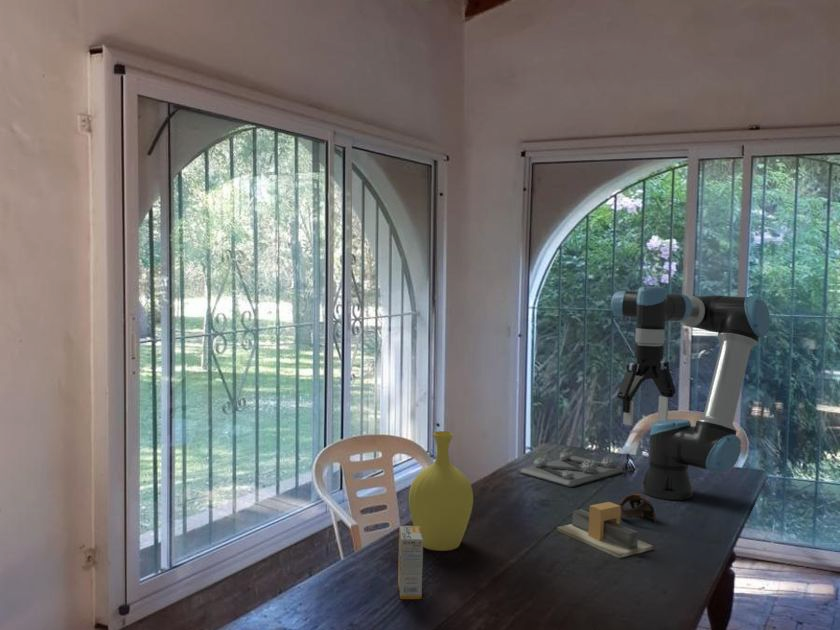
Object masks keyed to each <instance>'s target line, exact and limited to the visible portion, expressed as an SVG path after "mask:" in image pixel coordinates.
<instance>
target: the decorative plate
mask: <svg viewBox="0 0 840 630" xmlns="http://www.w3.org/2000/svg"><path fill="white" fill-rule="evenodd" d="M558 457H559V458H558V459H556V460H551V461H547V460H546V458H544V457H543V458H542V457H541V456H539V457H538V458H537V457H535V459H534V461H533V465H531V466H526V467H522V469H520V473H521V474H522V475H525V476H528V477H532V478H535V479H539V480H543V481H546V482H548V483H549V482H550V483H553V484H556V485H560V486H563V487H567V488H574V487H577V486H580V485H584V484H587V483H592V482H595V481H598V480H602V479H605V478H608V476H609V477H612V476H611V475H613V476H615V475H614V474H616V475H618V473H620V474H622V473H623V472H624V470H623V468H622V467H621V466H617V464H618V463H617V462H616V460H614V459H615V458H613V457H611V458H610V457H606V458H605V457H603V459H602V460H601V461H597V460H595V459H590V458H586V457H580V456H578V455H577V456H576V455H572V454H570V452H566V451H564V452H561V453H560V455H558ZM604 477H605V478H604ZM601 478H602V479H601ZM594 480H595V481H594Z"/></svg>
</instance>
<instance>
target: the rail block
mask: <svg viewBox="0 0 840 630" xmlns="http://www.w3.org/2000/svg"><path fill="white" fill-rule="evenodd" d="M556 532H559V533H561V534H564V535H566V536H568V537H570V538H572V539H575V540H577V541H578V542H581V543H584V544H586V545H588V546H590V547H593V548H594V549H597V550H600V551H601V552H604V553H606V554H609V555H610V556H613V557H615V558H617V559H621V558H624V557H625V558H626V557H628V556H633V555H636V554H641V553H645V552H648V551H649V552H650V551H653V549H654V546H653V545H652V544H649V543H647V542H645V541H642V540H640V539H639V531H637V530H634V529H632V528H630V527H627V526H624V525H622V524H621V523H620V524H617V523H615V522H612V521H610V520H605V521H604V529H603V540H601V541H599V540H597V539H594V538H592V537H590V536H588V532H589V511H586V510H584V509H581V508H580V509H576V510H572V523H571V524H565V525H561V526H556Z"/></svg>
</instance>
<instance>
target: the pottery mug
mask: <svg viewBox="0 0 840 630" xmlns="http://www.w3.org/2000/svg"><path fill="white" fill-rule="evenodd" d="M627 503H629V506H630V507H631V508H625V507H624V505H625V504H627ZM619 506H621V509H620V521H621V520H623V518H624V519H633V518H636V517H642V518H644V517H648V518H652V519H653V521H654V523H657V519H656V518H657V516H656V512H655V509H654V506H653V504H652V503H651V501H650V500H649V499H647V498H645V496H644V495H643V494H640V493H632V494H628V495H626V496H625V497H623V498H622V499H621V500H620V503H619Z"/></svg>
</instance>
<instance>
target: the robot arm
mask: <svg viewBox="0 0 840 630" xmlns="http://www.w3.org/2000/svg"><path fill="white" fill-rule="evenodd" d="M610 301H611V303H610V309H611V311H612V313H613V314H614V316H616V317H622V318H633V319H635V320H636V321H635V337H634V338H635V339H634V340H635V341H634V342H635V343H636V344H635V345H634V358H635V359H636V363H633V362H627V364H626V371H625V374H624V377H623V379H622V382H621V383H620V387H619V389H618V392H617V394H616V397H617V398H618V399H620V400H622V414H623V415H622V416H623V418H622V424H623V425H626V426H629V427H631V426H634V422H633V421H634V404H635V402H634V400H633V399H634V397H635V395H636V394H637V391H638V390H639V388H640V387H641V386H642V385H641V384H643V382H645V381H646V380H651V379H652V381H653V383H654V384H655V386H656V388H657V389H658V391H659V393H660V395H659V396H658V406H657V407H658V409H657V420H655V421H654V422H652V424H651V426H650V434H649V436H650V437H649V459H648V461H649V464H648V468H647V471H646V474H645V476H644V480H643V481H642V484H641V492H642V493H644V494H645V495H647V496H649V497H653V498H657V499H661V500H662V499H663V500H673V501H681V500H689V499H691V498H692V497H693V491H694V489H693V486H692V482H691V478H690V475H689V466H690V467H694V468H700V469H703V470H707V471H709V472H716V473H726V472H729V471H731V469H732V468H734V466H735V465H736V464H737V462H738V461H739V458H740V456H741V455H740V454H741V451H742V446H741V445H742V442H741V439H740V437H739V436H737V429H736V428H735V426H734V420H735V417H736V412H737V408H738V404H739V400H740V395H741V391H742V387H743V382H744V378H745V374H746V370H747V365H748V362H749V357H750V354H751V350H752V348H754V347H755V346H757V345H758V343H759V338H764V337H766V336H767V335H768V333H769V332H770V327H771V314H770V309H769V307H768V305H767V303H766V302H765V301H764V300H763V299H761V298H756V297H750V296H746V297H745V296H733V295H732V296H731V295H730V296H729V295H703V296H701V295H700V296H699V295H698V296H696V295H686V294H684V293H676V292H675V293H667V289H666V288H665V287H664V286H640V287H639V288H638V290H637V291H631V290H629V291H628V290H619V291H616V292H615V293H613V295H612V297H611V300H610ZM666 322H673V323H680V324H682V325H684V326H686V327H690V328H691V327H692V328H696V329H699V330H704V331H708V332H713V333H717V337H718V339H719V340H720V344H719V345H720V346H719V350H718V354H717V358H716V362H715V367H714V371H713V375H712V379H711V382H710V387H709V392H708V396H707V399H706V403H705V408H704V412H703V415H702V417H700V418H698V419H697V420H696V422H695V426H694V427H693V426H691V425H692V423H691V421H690V420H688V419H683V418H681V419H679V418H678V419H677V418H673V419H671V418H670V419H668V416H669V408H670V398H673V397H674V395H675V394H676V387H675V385H674V381H673V378H672V375H671V372H670V362H669V361H666V360H663V359H664V351H665V349H664V346H663V345H664V344H665V333H666V331H665V328H666Z"/></svg>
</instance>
